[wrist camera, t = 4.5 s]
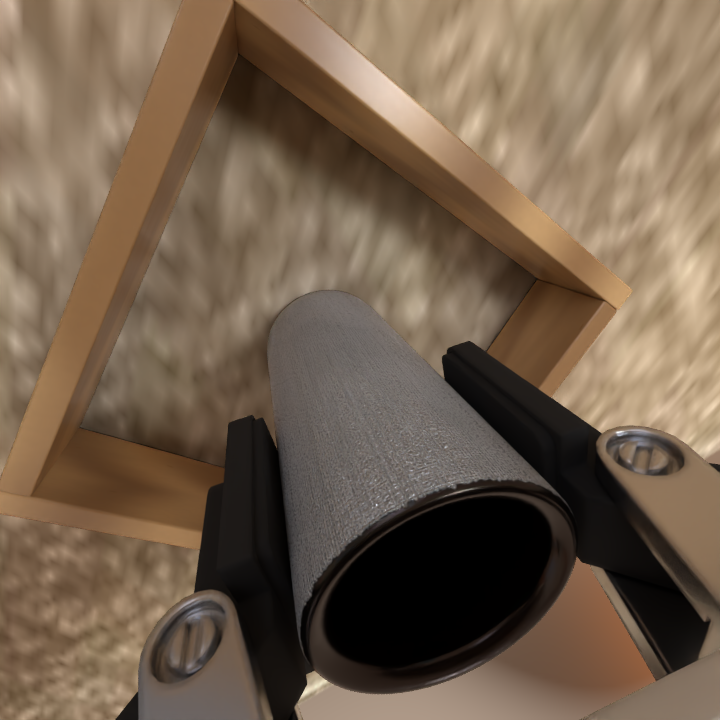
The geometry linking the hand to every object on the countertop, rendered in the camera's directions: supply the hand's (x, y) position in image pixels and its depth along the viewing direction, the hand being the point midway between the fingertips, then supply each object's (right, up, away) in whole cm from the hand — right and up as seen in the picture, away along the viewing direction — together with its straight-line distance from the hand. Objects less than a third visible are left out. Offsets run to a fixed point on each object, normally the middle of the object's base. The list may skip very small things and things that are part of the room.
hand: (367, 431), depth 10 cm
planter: (-2, +2, +5) cm, 6 cm away
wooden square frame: (-2, +2, +5) cm, 6 cm away
